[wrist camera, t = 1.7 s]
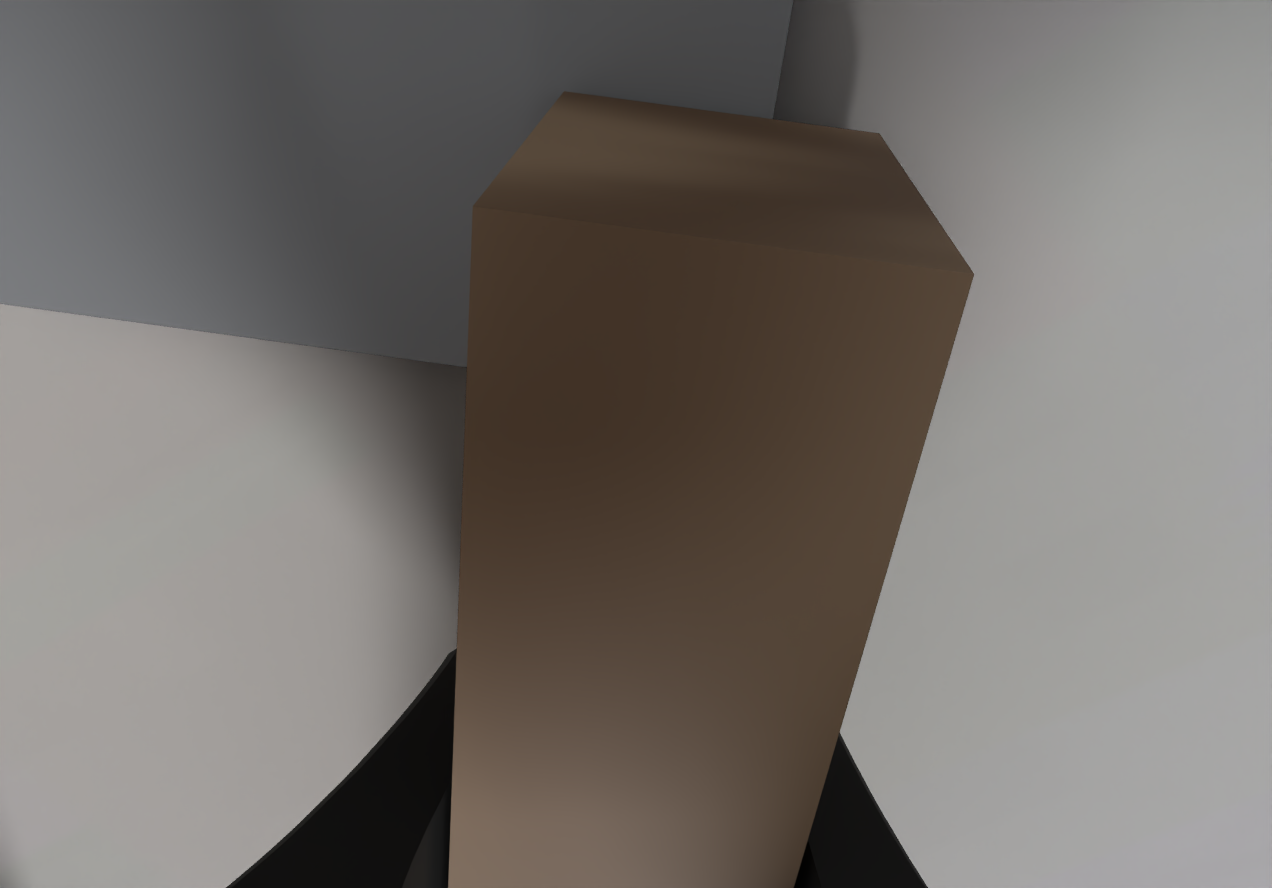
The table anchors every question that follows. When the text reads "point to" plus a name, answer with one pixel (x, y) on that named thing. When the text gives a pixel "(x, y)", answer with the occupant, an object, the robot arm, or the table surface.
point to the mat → (313, 148)
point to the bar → (680, 485)
